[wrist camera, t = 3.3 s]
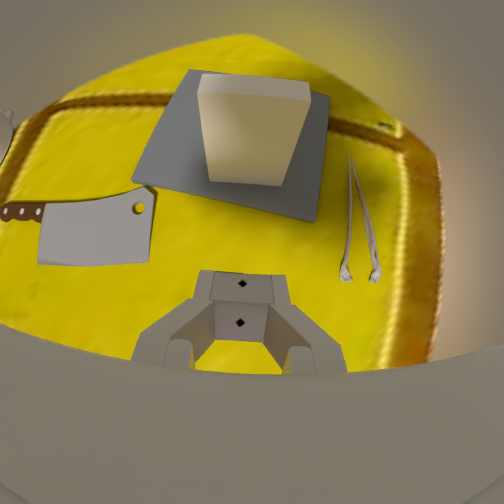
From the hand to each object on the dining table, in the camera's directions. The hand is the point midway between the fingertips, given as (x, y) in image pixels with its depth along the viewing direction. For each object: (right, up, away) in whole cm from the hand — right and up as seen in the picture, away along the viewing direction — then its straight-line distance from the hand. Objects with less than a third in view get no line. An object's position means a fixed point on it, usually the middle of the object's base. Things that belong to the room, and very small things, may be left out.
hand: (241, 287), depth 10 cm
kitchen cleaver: (-21, +4, +15) cm, 26 cm away
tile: (0, +9, +17) cm, 19 cm away
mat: (-1, +15, +19) cm, 24 cm away
